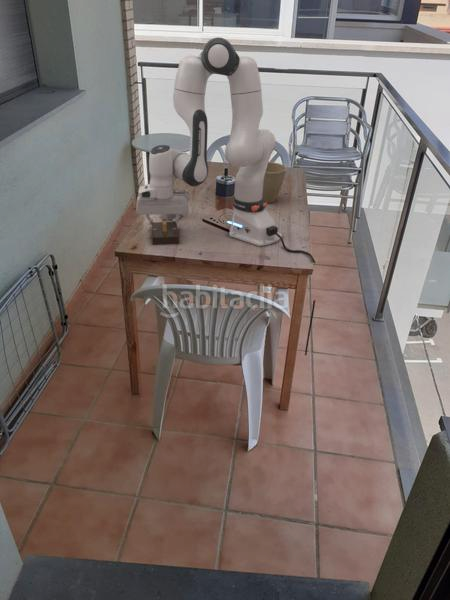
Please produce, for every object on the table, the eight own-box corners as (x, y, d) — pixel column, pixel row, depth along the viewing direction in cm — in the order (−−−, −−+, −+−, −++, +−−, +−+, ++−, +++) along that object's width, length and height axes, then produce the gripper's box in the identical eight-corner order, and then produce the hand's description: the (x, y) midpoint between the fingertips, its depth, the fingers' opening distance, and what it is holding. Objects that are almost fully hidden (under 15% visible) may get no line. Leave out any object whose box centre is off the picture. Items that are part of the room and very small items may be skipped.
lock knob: (166, 231, 184) (166, 223, 182) (163, 231, 183) (162, 223, 182) (166, 226, 188) (165, 218, 186) (162, 226, 188) (162, 218, 186)
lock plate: (178, 243, 182) (178, 236, 180) (152, 244, 181) (152, 237, 179) (176, 228, 194) (176, 221, 192) (152, 229, 192) (151, 222, 191)
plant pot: (267, 208, 213) (270, 174, 204) (245, 199, 222) (246, 165, 213) (289, 201, 222) (293, 167, 213) (267, 192, 231) (269, 159, 222)
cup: (173, 210, 209) (172, 189, 203) (185, 216, 204) (184, 194, 198) (157, 215, 204) (156, 193, 198) (170, 221, 199) (169, 199, 193)
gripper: (189, 187, 181) (189, 220, 189) (135, 187, 179) (137, 220, 187) (189, 193, 176) (189, 227, 184) (134, 193, 174) (136, 227, 182)
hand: (163, 223), depth 185 cm, fingers open, 8 cm apart
